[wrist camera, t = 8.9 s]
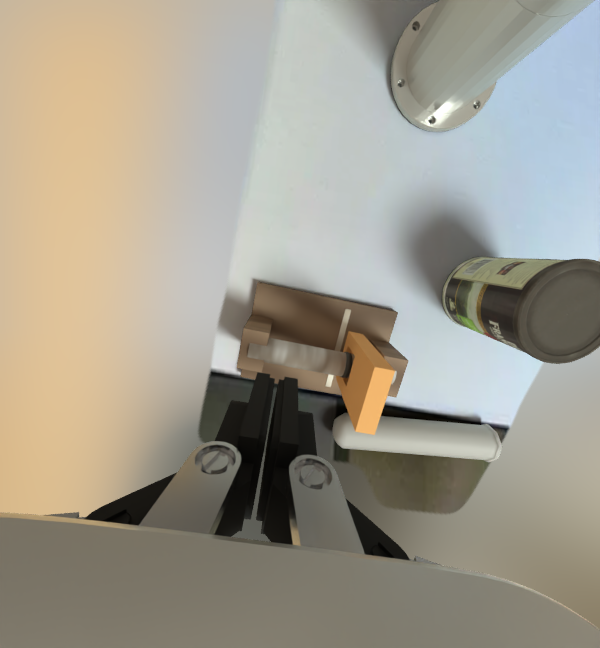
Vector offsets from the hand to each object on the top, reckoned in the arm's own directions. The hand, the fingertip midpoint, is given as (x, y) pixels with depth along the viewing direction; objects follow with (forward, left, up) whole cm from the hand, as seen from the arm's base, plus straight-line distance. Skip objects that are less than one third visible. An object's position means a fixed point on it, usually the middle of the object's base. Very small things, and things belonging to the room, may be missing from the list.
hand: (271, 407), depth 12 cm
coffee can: (-6, +27, -29) cm, 40 cm away
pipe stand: (+6, +6, -29) cm, 30 cm away
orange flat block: (+6, +10, -26) cm, 28 cm away
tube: (+17, +24, -30) cm, 42 cm away
